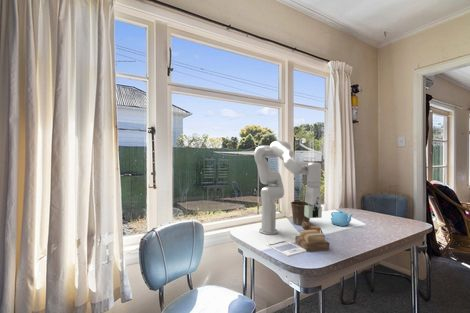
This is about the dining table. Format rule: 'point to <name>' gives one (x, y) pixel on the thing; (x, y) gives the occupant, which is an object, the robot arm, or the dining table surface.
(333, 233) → the dining table surface
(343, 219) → the teapot
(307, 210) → the sage brick
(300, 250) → the photo frame
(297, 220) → the plant pot
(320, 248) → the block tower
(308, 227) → the lion figurine
